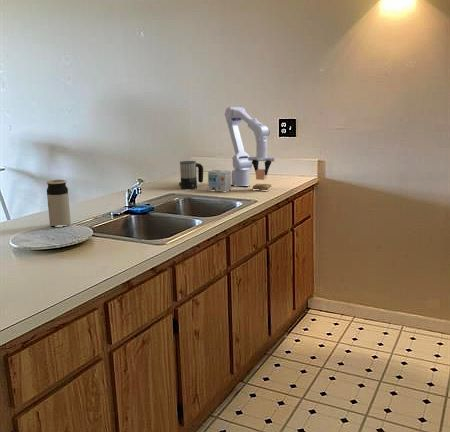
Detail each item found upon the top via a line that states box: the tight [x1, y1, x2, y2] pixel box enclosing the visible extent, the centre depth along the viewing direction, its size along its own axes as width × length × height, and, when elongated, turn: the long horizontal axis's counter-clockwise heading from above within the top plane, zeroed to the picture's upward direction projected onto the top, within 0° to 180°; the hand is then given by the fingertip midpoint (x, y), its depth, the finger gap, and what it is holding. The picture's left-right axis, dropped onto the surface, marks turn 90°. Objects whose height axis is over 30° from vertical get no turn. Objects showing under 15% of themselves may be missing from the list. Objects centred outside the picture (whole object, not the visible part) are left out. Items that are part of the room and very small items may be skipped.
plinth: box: [252, 183, 272, 190], centre depth 278 cm, size 8×8×2 cm
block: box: [255, 168, 268, 181], centre depth 275 cm, size 4×4×5 cm
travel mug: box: [46, 179, 72, 227], centre depth 205 cm, size 8×8×18 cm
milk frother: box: [178, 160, 204, 190], centre depth 287 cm, size 14×16×15 cm
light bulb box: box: [207, 169, 232, 192], centre depth 276 cm, size 11×7×11 cm, turn 62°
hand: (261, 174), depth 276 cm, fingers closed on block, 4 cm apart
